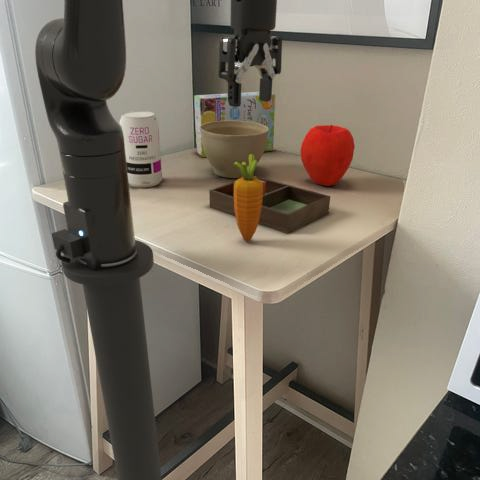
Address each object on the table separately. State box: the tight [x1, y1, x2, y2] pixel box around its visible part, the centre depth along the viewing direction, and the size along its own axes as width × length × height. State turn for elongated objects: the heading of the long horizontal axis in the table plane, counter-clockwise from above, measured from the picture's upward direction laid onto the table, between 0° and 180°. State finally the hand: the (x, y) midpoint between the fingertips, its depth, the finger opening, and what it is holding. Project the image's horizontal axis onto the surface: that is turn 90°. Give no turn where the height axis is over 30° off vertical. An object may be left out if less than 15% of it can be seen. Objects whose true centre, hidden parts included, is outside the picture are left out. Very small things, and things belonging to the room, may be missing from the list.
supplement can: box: [118, 110, 163, 189], centre depth 111 cm, size 8×8×15 cm
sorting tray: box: [208, 174, 331, 234], centre depth 101 cm, size 14×20×4 cm
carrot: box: [233, 154, 263, 243], centre depth 84 cm, size 5×5×15 cm
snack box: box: [193, 91, 276, 158], centre depth 135 cm, size 21×6×15 cm, turn 111°
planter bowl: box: [200, 120, 269, 179], centre depth 119 cm, size 16×16×11 cm
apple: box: [299, 124, 355, 187], centre depth 112 cm, size 12×12×13 cm
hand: (250, 103), depth 89 cm, fingers open, 8 cm apart
